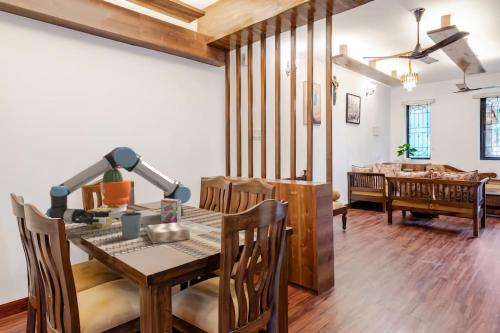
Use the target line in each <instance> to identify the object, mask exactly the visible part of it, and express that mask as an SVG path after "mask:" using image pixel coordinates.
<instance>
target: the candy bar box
mask: <svg viewBox="0 0 500 333" xmlns="http://www.w3.org/2000/svg"><path fill="white" fill-rule="evenodd" d="M181 205H182V204H181V200H176V199H164V198H162V199H160V224H167V223H177V222H180V223H181V224H182V216H181Z"/></svg>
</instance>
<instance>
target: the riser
mask: <svg viewBox="0 0 500 333" xmlns="http://www.w3.org/2000/svg"><path fill="white" fill-rule="evenodd" d="M146 231H147V232H146V235H147V236H148V238H149V239H150V241H151V242H152V244H159V243H160V244H161V243H168V242H170V243H171V242H175V241H176V242H178V241H186V239H187V240H190V239H191V236H190V235H191V234H190V233H191V230H190V229H189V228H187V227H186V226H185V225H184V224H183V223H182V222H181V223H180V222H177V223H167V224H161V223H159V224H156V223H155V224H148V225H147V228H146Z"/></svg>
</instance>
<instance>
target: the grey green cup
mask: <svg viewBox="0 0 500 333" xmlns="http://www.w3.org/2000/svg"><path fill="white" fill-rule="evenodd" d="M142 216H143V213H141V212H134V211H133V212H123V213H121V218H120V221H121V231H122V232H121V236H122V239H125V240H133V239H139V238H140V237H141V225H142V224H141V223H142Z"/></svg>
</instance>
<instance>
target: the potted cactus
mask: <svg viewBox="0 0 500 333" xmlns="http://www.w3.org/2000/svg"><path fill="white" fill-rule="evenodd" d="M120 169H123V168H122V167H120V166H119V167H116V168H115V169H113V170H108V171H107V172H105V173H103V176H102V175H101V176H102V177H101V178H102V180H101V181H100V183H99V191H100V193H101V194H102V196H103V198H102V200H101V202H102V204H103V205H100V206H98V208H113V213H117V212H118V213H121V212H125V211H126V210H127V204H128V203H129V202H130V197H129V196H130V193H131V188H132V184H131V181H130V180H124V177H123V174H122V171H121V170H120Z"/></svg>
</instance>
